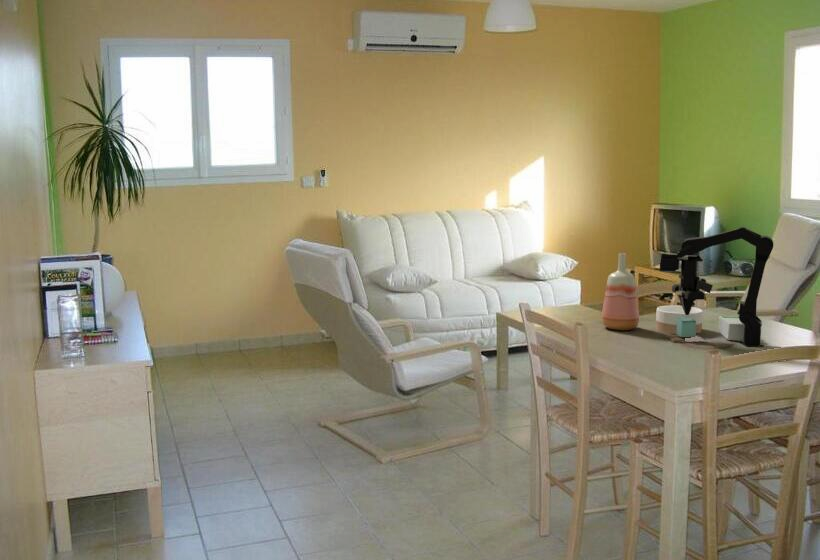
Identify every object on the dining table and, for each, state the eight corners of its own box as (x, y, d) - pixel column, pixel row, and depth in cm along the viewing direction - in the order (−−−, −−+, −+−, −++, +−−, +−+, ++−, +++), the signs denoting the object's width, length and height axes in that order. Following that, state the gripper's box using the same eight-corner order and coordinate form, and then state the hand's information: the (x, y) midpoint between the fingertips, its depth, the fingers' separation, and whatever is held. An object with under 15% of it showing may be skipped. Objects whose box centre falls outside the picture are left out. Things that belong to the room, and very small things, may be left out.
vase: (593, 326, 351) (596, 252, 347) (623, 323, 357) (626, 250, 352) (616, 333, 338) (618, 256, 334) (646, 330, 344) (649, 254, 339)
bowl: (661, 335, 336) (662, 313, 335) (651, 325, 353) (651, 305, 352) (707, 335, 335) (708, 313, 334) (694, 326, 352) (695, 305, 351)
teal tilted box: (695, 336, 325) (696, 320, 324) (681, 337, 324) (681, 321, 324) (690, 333, 330) (691, 318, 329) (676, 334, 330) (677, 318, 329)
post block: (706, 342, 323) (707, 323, 322) (673, 342, 323) (674, 323, 322) (697, 336, 332) (698, 318, 331) (665, 337, 332) (666, 318, 331)
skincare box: (740, 316, 339) (752, 323, 323) (739, 333, 340) (751, 341, 324) (718, 315, 339) (729, 322, 324) (717, 332, 340) (728, 340, 325)
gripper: (720, 276, 314) (718, 319, 317) (701, 269, 333) (699, 309, 335) (689, 276, 314) (687, 319, 317) (672, 269, 333) (670, 310, 335)
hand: (687, 314), depth 326 cm, fingers closed
